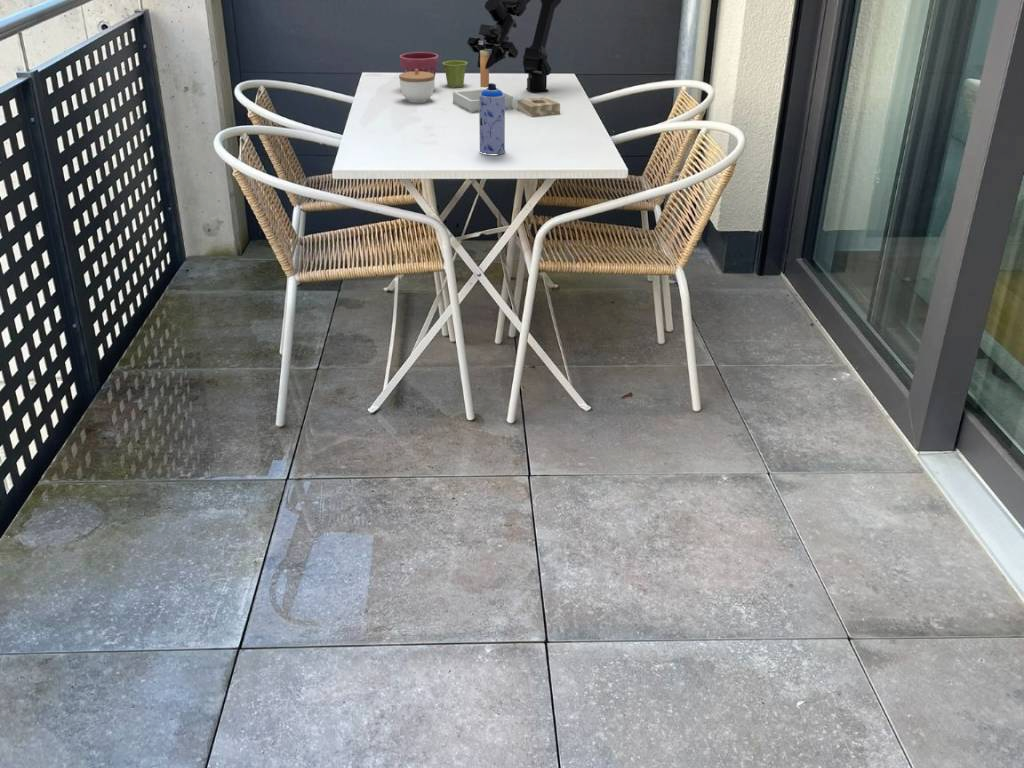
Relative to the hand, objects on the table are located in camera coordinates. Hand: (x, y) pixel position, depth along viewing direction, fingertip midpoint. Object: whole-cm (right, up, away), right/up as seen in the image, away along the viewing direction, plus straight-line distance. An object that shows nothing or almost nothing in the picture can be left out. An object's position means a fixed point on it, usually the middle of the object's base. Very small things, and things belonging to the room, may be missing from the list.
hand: (482, 67), depth 349 cm
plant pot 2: (-11, +4, +37) cm, 39 cm away
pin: (+1, -5, +4) cm, 7 cm away
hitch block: (+19, -15, 0) cm, 25 cm away
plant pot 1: (-24, +1, +30) cm, 39 cm away
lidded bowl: (-24, -8, +15) cm, 29 cm away
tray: (0, -11, +8) cm, 14 cm away
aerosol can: (+4, -40, -46) cm, 61 cm away
